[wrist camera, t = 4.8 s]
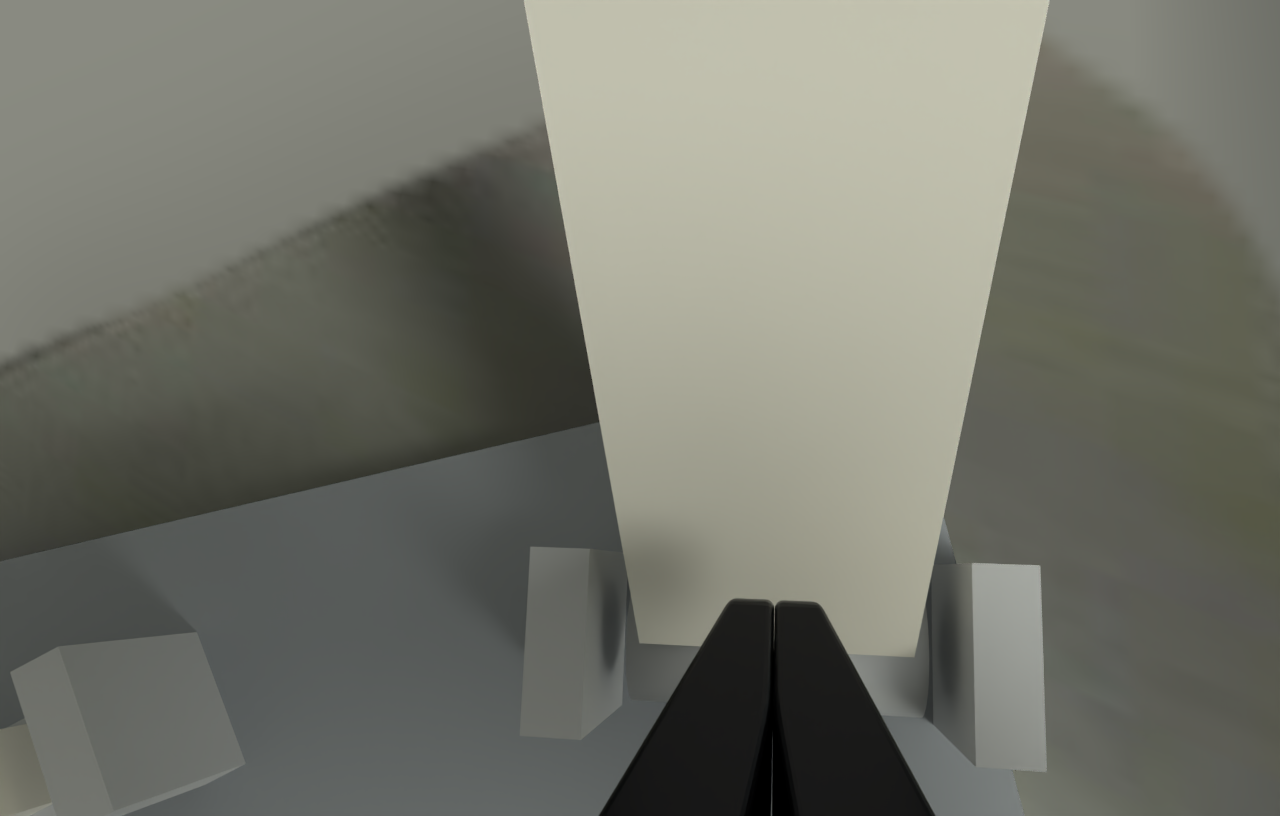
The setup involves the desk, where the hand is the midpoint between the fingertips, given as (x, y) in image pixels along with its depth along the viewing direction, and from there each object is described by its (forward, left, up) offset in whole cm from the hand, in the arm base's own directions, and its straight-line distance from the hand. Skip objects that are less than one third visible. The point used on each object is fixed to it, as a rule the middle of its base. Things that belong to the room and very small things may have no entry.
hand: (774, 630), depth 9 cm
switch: (0, 0, -5) cm, 5 cm away
